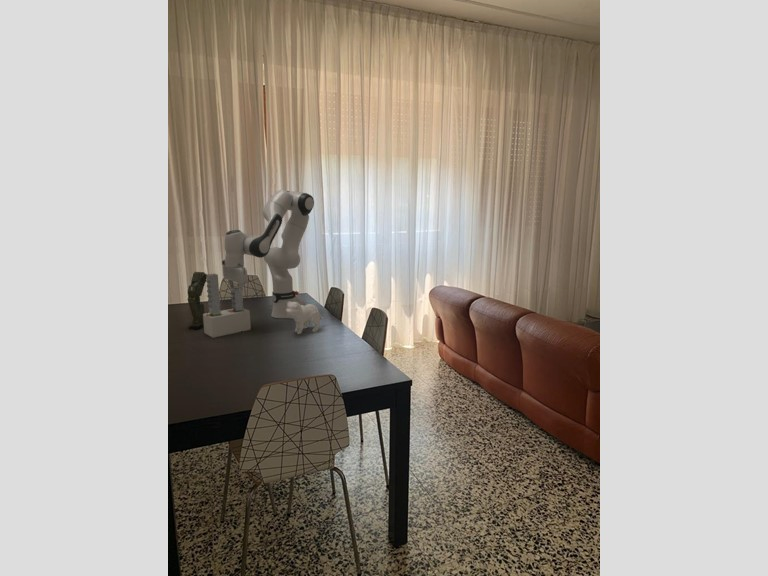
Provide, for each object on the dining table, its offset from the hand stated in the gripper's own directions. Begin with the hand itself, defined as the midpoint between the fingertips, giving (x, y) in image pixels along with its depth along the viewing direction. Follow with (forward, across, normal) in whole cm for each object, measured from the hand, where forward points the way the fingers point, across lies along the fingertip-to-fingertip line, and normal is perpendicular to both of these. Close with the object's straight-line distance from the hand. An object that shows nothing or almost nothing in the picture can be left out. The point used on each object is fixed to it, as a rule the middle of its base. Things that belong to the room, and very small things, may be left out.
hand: (236, 289), depth 225 cm
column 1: (+13, 0, +12) cm, 17 cm away
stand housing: (+21, 0, +6) cm, 22 cm away
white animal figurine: (+21, -26, -24) cm, 41 cm away
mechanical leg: (+21, +18, +12) cm, 31 cm away
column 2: (+21, 0, 0) cm, 21 cm away
